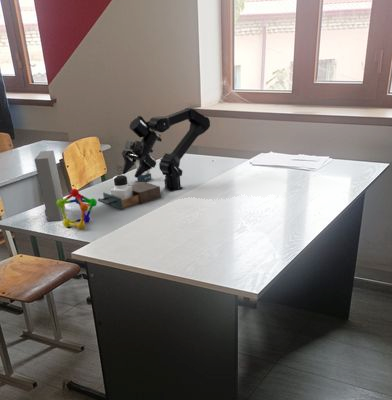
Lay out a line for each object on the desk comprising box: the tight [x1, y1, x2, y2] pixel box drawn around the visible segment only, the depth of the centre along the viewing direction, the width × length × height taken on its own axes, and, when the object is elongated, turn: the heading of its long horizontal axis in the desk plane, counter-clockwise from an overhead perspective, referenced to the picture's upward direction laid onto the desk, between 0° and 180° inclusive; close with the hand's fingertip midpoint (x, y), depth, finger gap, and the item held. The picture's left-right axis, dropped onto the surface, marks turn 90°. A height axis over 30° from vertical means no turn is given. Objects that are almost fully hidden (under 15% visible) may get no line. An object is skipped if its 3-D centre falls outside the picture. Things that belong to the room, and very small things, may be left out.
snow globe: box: [135, 160, 152, 183], centre depth 250 cm, size 6×8×11 cm
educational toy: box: [57, 188, 98, 231], centre depth 200 cm, size 16×13×15 cm
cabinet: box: [128, 182, 162, 205], centre depth 228 cm, size 11×13×5 cm
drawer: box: [97, 192, 140, 210], centre depth 221 cm, size 16×13×5 cm
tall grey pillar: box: [34, 150, 67, 222], centre depth 208 cm, size 14×6×25 cm, turn 4°
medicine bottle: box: [110, 174, 133, 200], centre depth 220 cm, size 7×7×12 cm
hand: (129, 175), depth 220 cm, fingers open, 9 cm apart
